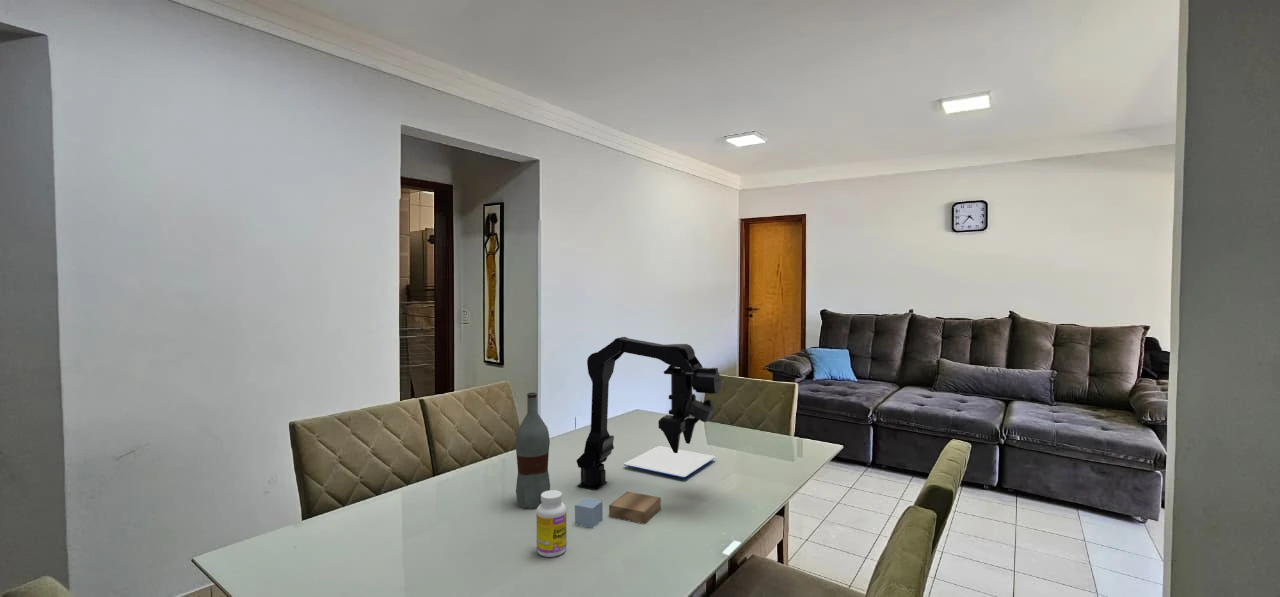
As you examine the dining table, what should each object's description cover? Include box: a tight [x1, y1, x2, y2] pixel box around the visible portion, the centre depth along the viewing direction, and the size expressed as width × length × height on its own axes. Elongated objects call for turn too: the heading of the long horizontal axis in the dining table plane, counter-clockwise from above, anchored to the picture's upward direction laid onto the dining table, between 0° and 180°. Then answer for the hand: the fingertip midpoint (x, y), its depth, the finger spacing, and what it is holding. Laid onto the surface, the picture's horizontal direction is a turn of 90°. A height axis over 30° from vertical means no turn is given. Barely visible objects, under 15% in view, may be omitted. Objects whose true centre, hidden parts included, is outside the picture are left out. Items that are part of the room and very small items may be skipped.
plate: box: [623, 445, 716, 478], centre depth 180 cm, size 22×22×2 cm
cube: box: [574, 497, 604, 529], centre depth 137 cm, size 5×5×5 cm
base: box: [608, 491, 662, 525], centre depth 143 cm, size 10×10×3 cm
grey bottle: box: [514, 391, 551, 509], centre depth 149 cm, size 9×9×30 cm
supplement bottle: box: [535, 489, 568, 558], centre depth 123 cm, size 7×7×13 cm
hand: (682, 448), depth 149 cm, fingers open, 9 cm apart
